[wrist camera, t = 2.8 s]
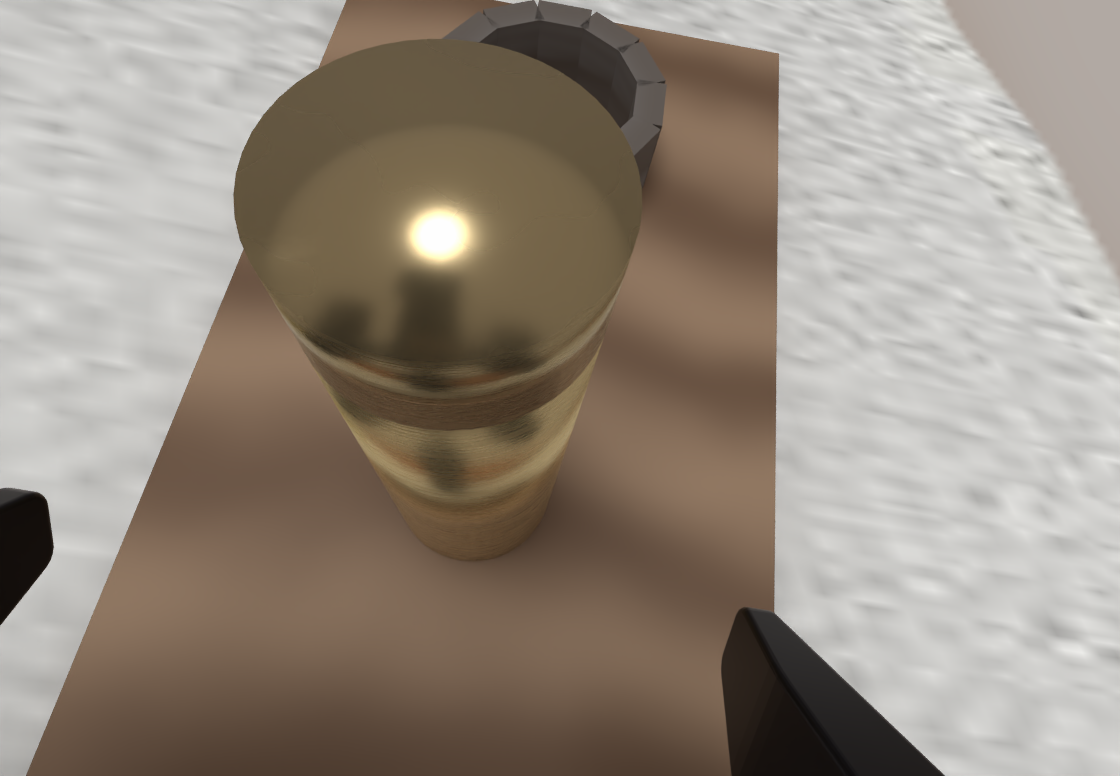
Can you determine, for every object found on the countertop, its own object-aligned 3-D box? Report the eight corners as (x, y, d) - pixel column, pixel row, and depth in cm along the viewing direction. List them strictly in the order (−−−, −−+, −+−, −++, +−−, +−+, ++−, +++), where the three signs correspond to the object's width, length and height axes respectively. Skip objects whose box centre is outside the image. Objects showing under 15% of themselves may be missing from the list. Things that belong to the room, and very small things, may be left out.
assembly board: (753, 913, 17) (831, 987, 13) (41, 808, 16) (-101, 853, 12) (767, 77, 29) (810, -15, 25) (362, 1, 28) (341, -104, 24)
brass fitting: (580, 483, 19) (720, 191, 7) (472, 595, 18) (432, 452, 6) (476, 387, 20) (454, -11, 8) (366, 485, 19) (145, 169, 7)
